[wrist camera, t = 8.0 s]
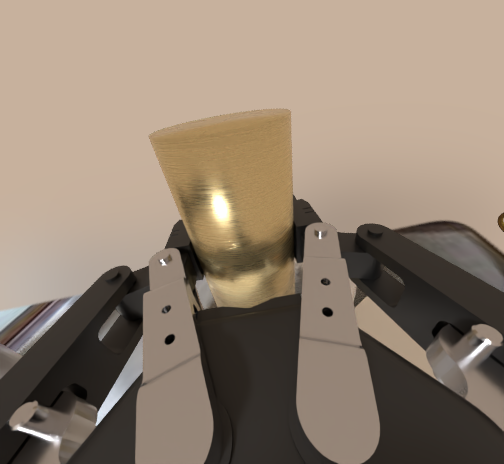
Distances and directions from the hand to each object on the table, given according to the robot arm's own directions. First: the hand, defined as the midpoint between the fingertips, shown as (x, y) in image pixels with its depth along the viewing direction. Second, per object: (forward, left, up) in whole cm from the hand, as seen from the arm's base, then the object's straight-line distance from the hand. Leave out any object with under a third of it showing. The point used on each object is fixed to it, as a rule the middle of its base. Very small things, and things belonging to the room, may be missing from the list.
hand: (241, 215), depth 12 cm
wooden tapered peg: (-1, -2, -7) cm, 7 cm away
